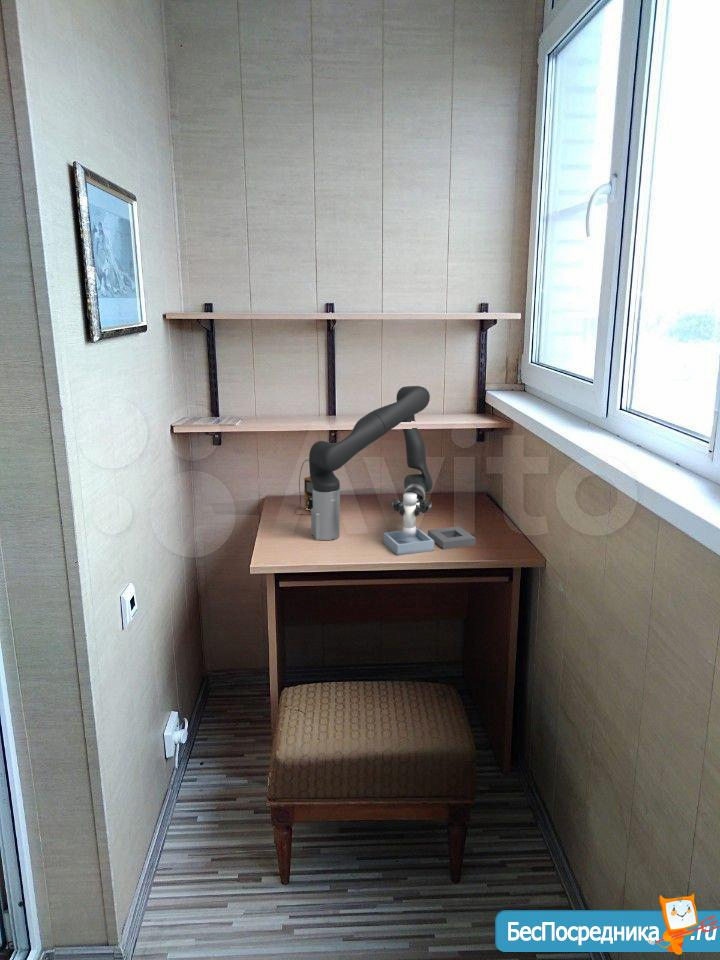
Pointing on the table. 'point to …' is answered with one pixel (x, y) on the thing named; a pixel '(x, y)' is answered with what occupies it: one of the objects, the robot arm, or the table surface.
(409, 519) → the fuse
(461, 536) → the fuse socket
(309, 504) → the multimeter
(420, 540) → the parts tray
